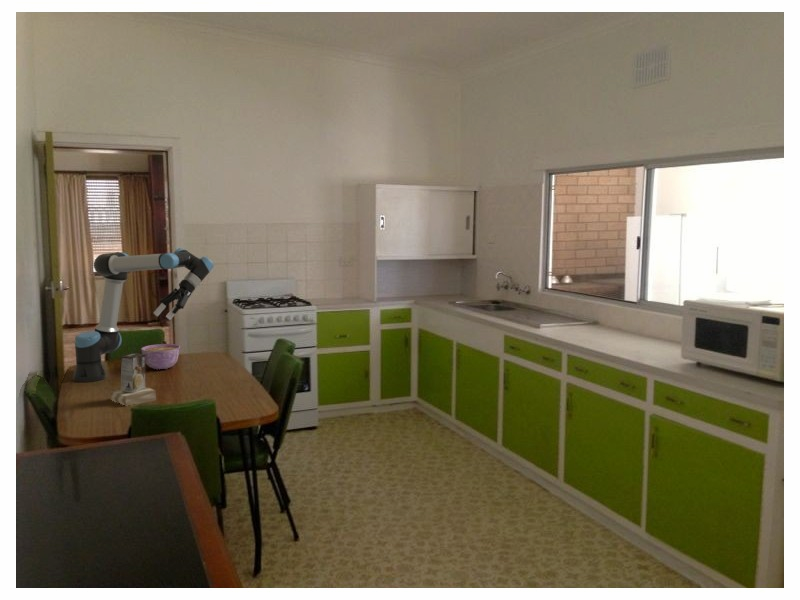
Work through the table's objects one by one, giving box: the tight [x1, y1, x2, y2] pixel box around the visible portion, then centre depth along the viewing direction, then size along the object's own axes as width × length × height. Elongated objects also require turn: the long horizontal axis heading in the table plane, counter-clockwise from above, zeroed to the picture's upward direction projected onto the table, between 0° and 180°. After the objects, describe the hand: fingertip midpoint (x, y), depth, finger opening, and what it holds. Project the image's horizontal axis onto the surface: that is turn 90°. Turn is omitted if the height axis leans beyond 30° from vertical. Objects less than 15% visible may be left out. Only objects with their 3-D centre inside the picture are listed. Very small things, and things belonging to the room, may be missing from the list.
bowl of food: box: [140, 343, 181, 371], centre depth 365 cm, size 20×20×12 cm
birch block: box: [110, 386, 157, 407], centre depth 303 cm, size 14×14×5 cm
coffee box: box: [120, 352, 146, 393], centre depth 302 cm, size 9×6×16 cm
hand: (161, 316), depth 324 cm, fingers open, 13 cm apart
